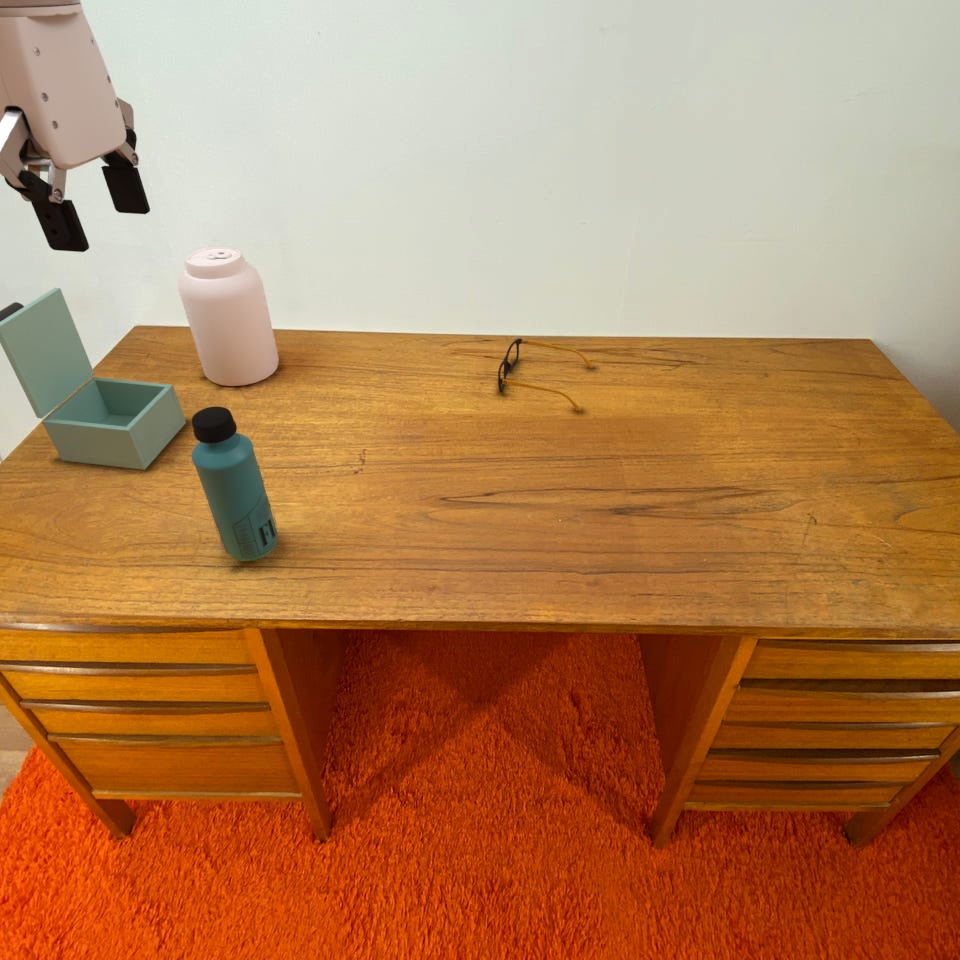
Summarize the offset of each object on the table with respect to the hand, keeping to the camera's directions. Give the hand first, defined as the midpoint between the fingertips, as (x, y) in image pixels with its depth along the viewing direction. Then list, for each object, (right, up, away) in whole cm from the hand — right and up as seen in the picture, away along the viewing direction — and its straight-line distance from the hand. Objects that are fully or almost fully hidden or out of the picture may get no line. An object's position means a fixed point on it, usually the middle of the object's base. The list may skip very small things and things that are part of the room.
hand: (104, 229), depth 57 cm
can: (-7, -3, +53) cm, 54 cm away
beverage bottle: (+6, -31, +21) cm, 38 cm away
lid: (-24, -5, +29) cm, 38 cm away
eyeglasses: (+44, -6, +51) cm, 68 cm away
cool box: (-19, -16, +37) cm, 45 cm away
